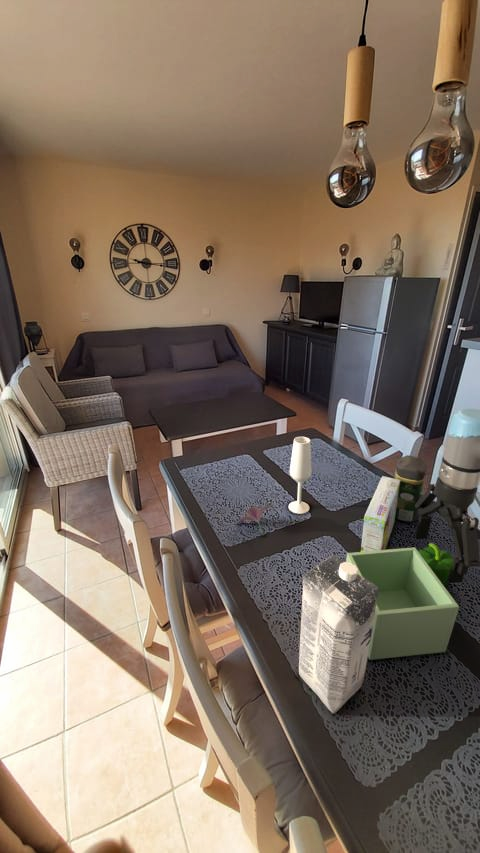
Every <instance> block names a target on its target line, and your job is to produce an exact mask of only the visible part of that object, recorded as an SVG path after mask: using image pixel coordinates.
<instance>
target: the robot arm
mask: <svg viewBox="0 0 480 853" xmlns="http://www.w3.org/2000/svg"><path fill="white" fill-rule="evenodd" d="M449 425H450V426H449V428H448V431H447V435H446V440H445V445H444V449H443V453H442V457H441V463H440V467H439V470H438V476H437V479H436V482H435V483H429V484H428V486H427V489H426V491H425V492H424V493H423V494H422V495H421V498H420V499H419V500H418V502H417V503H416V504H415V508H416V509H418V514H417V515H418V519H417V527H416V532H415V536H414V538H415V540H427V539H428V535H429V532H430V528H431V524H432V521H433V517H432V515H434V514H435V513H439V514H440V515H441V516H442V517H443V518H444V519H445V520H446V521H447V525H448V528H449V529H450V530H451V534H452V538H453V543H454V548H455V552H456V557H453V559H454V561H453V564H452V568H451V571H450V574H449V578H448V581H449V584H453V583H462V582H463V579H464V576H465V575H466V574H467V573H468V571H469V569H470V568H473V567H479V566H480V547H479V545H480V544H479V535H478V534H479V532H478V528H479V523H480V521H479V518H478V517H472V516H471V515H469V513H468V512H469V510H468V509H469V507H470V506H471V505H473V503H474V502H475V500H476V495H477V492H478V489H479V488H478V487H479V486H480V409H477V408H462V409H459V410H458V411H456V412H455V413H454V414H453V415H452V418H451V422H450V424H449ZM435 499H436V500H435ZM434 500H435V502H433V501H434ZM432 502H433V503H432ZM458 522H460V523H458ZM455 523H457V524H455Z"/></svg>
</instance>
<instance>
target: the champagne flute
mask: <svg viewBox="0 0 480 853" xmlns="http://www.w3.org/2000/svg"><path fill="white" fill-rule="evenodd" d="M311 450H312V449H311V439H310V438H309V437H306V436H296V437H294V439H293V444H292V450H291V451H292V452H291V458H290V465H289V475H290V477H291V478H292V479H293V480H294V481H296V482H297V500H295V501H291V502H290V503H289V504H288V509H289V511H290V512H292V513H294V514H297V515H298V514H299V515H302V514H305V513H307V512H309V511H310V506H309V504H308V503H306V502H304V501H302V489H303V483H304V482H306V481H307V480H309V479H310V478H311V476H312V474H313V471H312V453H311V452H312V451H311Z"/></svg>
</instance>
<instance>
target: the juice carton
mask: <svg viewBox="0 0 480 853" xmlns="http://www.w3.org/2000/svg"><path fill="white" fill-rule="evenodd" d="M357 573H358V569H357V568H356V566H355V565H353V564H352V563H350V562H349V563H348V562H346V561H343V560H342V559H341V558H339V557H338V556H337V555H335V554H332V555H330V556H328V557H327V558H326V559H324V560H323V561H322V562H321V563H319V564H318V565H316V566H315V567H313V568H311V569H310V570H308V571H306V572H304V573H302V599H301V600H302V601H301V613H300V614H301V615H300V633H299V634H300V636H299V649H298V650H299V652H298V675H299V676H300V678H301V679H302V680H303V681H304V682H305V684H306V685H307V686H308V687H309V688H310V689H311V690H312V691H313V692H314V693H315V694H316V696H317V697H318V699H320V701H321V702H322V703H323V704H324V706H325V707H326V708H327V709H328V710H329V711H330V713H331V714H332V715H333V714H336V713H337V712H338V711H340V709H341V708H342V707H343V706H344V705H345V704H346V703H347V702H348V700H349V699H351V698H352V697H353V696H354V695H355V694H356V693H357V692H358V691H359V690H360V689H361V688H362V686H363V685H364V684H363V683H364V680H365V675H366V674H365V673H366V667H367V662H368V651H369V646H370V640H371V634H372V628H373V622H374V616H375V609H376V601H377V596H378V587H377V586H376V585H375V584H373V583H372V582H370V581H368V580H367V579H365V578H363V577H362V576H360V575H358V574H357Z"/></svg>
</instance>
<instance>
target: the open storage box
mask: <svg viewBox="0 0 480 853" xmlns="http://www.w3.org/2000/svg"><path fill="white" fill-rule="evenodd" d="M345 559H346V560H345V562H348V563H349V562H350V563H352V564H353V565H355V566H356V568H357V569H358V573H357V574H358V575H360V576H362V577H363V578H365V579H367V580H368V581H370V582H372V583H373V584H375V585H376V586H377V587H378V596H377V601H376V609H375V616H374V622H373V628H372V634H371V640H370V646H369V651H368V657H367V659H368V660H369V661H373V660H382V659H390V658H400V657H411V656H420V655H430V654H437V653H439V654H441V653H446V652H447V649H448V645H449V642H450V639H451V636H452V632H453V629H454V626H455V623H456V619H457V615H458V612H459V609H460V606H459V604H458V603H457V601H456V600H455V599H454V598H453V596H452V595H451V594H450V592H449V591H448V589H447V588H446V586H445V587H444V586H443V584H442V583H441V582H440V580H439V579H438V578H437V576H436V575H435V574H434V572H433V571H432V570H431V568H430V567H429V566H428V564H427V563H426V562H425V560H424V559H423V558H422V556H421V555H420V554H419V550H418V549H417V548H416V547H415V546H414V547H404V548H403V547H402V548H390V549H385V550H378V551H366V552H361V551H357V552H347V553H346V558H345Z"/></svg>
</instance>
